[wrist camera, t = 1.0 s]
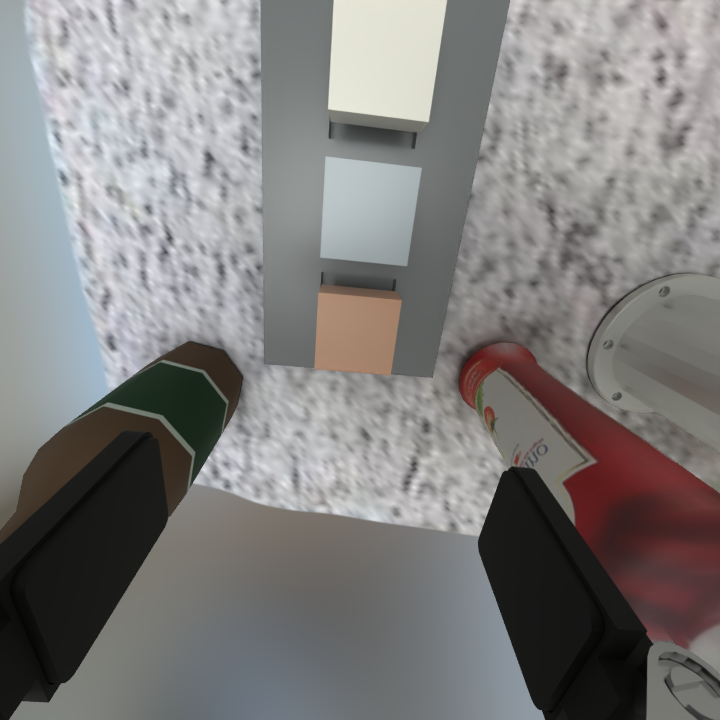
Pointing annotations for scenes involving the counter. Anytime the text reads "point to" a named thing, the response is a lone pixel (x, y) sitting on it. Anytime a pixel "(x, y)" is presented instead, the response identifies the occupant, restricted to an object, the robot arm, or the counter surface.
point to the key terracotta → (356, 329)
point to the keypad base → (325, 138)
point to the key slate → (368, 211)
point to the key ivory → (384, 62)
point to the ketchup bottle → (610, 494)
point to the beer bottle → (143, 425)
